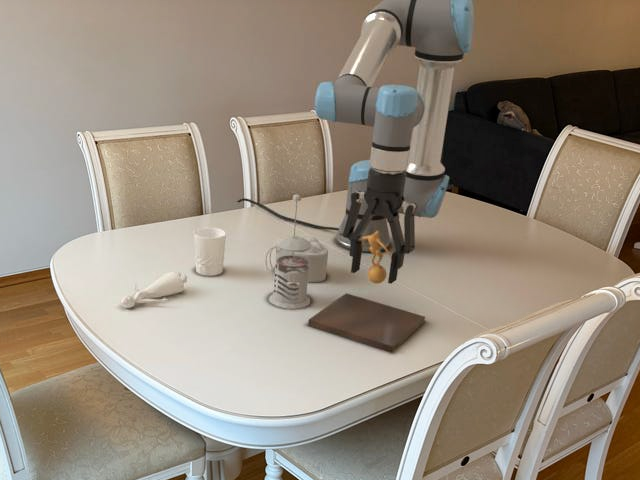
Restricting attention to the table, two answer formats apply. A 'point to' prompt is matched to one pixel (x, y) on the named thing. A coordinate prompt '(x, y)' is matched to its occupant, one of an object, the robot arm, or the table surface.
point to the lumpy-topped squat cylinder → (310, 260)
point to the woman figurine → (156, 290)
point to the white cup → (209, 250)
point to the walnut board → (367, 322)
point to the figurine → (376, 271)
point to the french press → (289, 293)
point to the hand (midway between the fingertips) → (373, 276)
